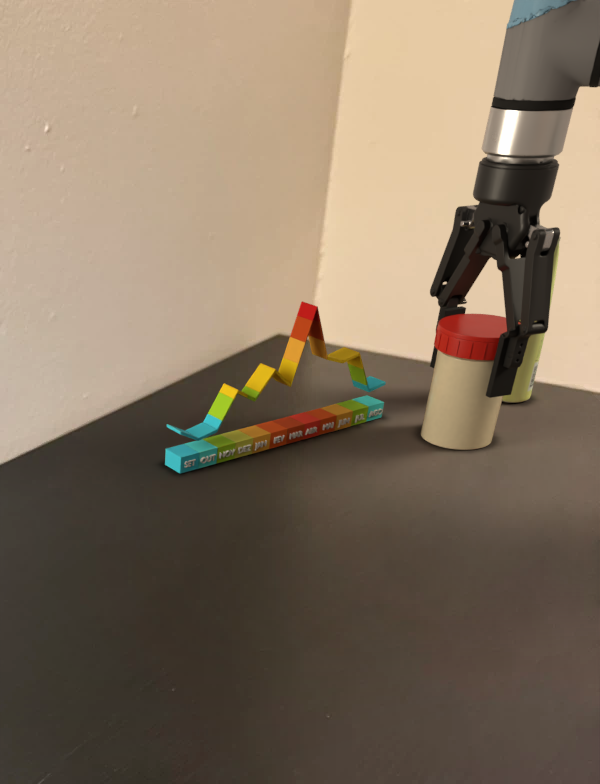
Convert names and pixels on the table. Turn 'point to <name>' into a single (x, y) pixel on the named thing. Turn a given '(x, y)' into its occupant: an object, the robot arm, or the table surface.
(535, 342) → the tube
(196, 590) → the table surface
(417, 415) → the table surface
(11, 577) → the table surface
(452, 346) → the lid
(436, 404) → the jar
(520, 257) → the robot arm
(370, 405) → the chart
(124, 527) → the table surface
